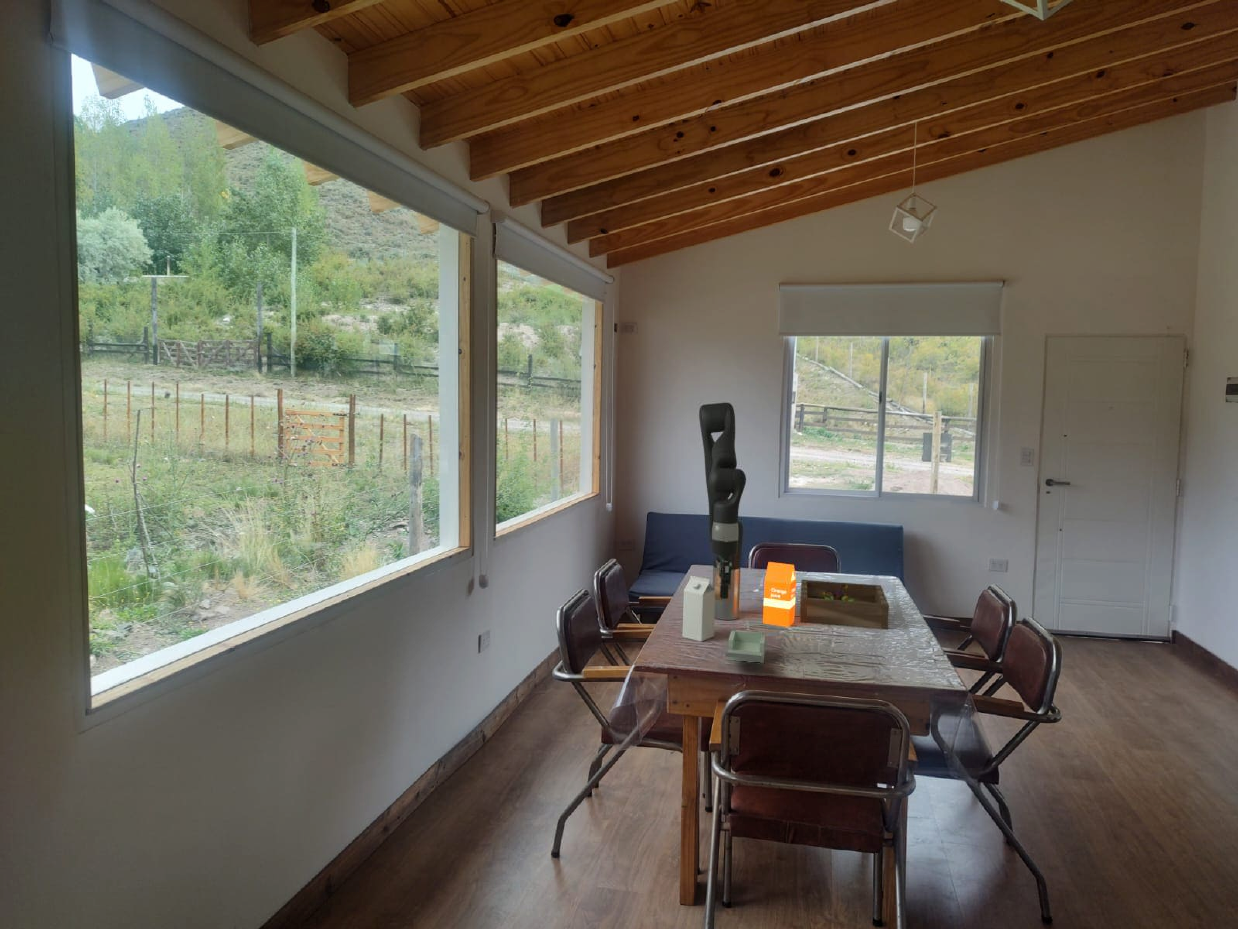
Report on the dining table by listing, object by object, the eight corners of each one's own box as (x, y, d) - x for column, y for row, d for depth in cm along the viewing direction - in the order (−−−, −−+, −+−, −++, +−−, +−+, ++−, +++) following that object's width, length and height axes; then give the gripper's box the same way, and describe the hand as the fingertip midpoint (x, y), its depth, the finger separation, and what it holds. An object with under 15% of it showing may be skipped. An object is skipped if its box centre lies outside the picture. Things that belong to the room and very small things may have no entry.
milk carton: (695, 632, 256) (696, 573, 254) (713, 637, 251) (716, 577, 250) (682, 637, 250) (684, 577, 249) (701, 642, 246) (703, 581, 244)
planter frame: (800, 600, 296) (801, 579, 296) (879, 607, 290) (881, 585, 290) (800, 622, 269) (801, 598, 269) (887, 629, 263) (889, 605, 262)
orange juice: (768, 617, 274) (771, 559, 272) (794, 621, 270) (797, 562, 269) (762, 623, 267) (764, 564, 265) (788, 627, 263) (791, 567, 262)
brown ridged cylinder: (713, 596, 235) (714, 568, 234) (729, 596, 235) (730, 569, 234) (715, 600, 230) (716, 572, 229) (731, 600, 230) (732, 572, 229)
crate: (730, 649, 240) (731, 629, 239) (764, 652, 238) (765, 632, 237) (727, 660, 230) (728, 640, 229) (763, 663, 228) (764, 643, 227)
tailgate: (728, 649, 229) (725, 652, 219) (762, 652, 227) (761, 655, 216) (728, 653, 229) (725, 656, 218) (762, 656, 227) (761, 660, 216)
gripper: (709, 533, 238) (707, 589, 239) (714, 541, 224) (712, 602, 225) (734, 533, 238) (732, 590, 239) (741, 542, 224) (739, 602, 225)
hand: (722, 595), depth 232 cm, fingers closed on brown ridged cylinder, 4 cm apart
